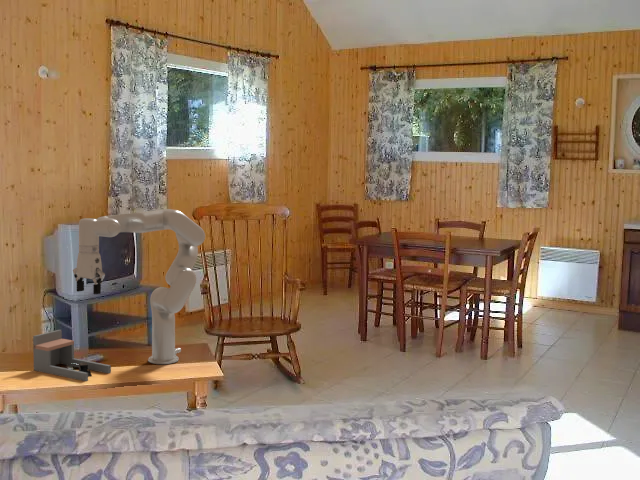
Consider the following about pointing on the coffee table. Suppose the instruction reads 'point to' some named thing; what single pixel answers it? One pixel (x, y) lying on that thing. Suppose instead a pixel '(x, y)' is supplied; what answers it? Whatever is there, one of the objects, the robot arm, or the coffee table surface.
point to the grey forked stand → (60, 356)
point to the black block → (84, 368)
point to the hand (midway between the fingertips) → (88, 292)
